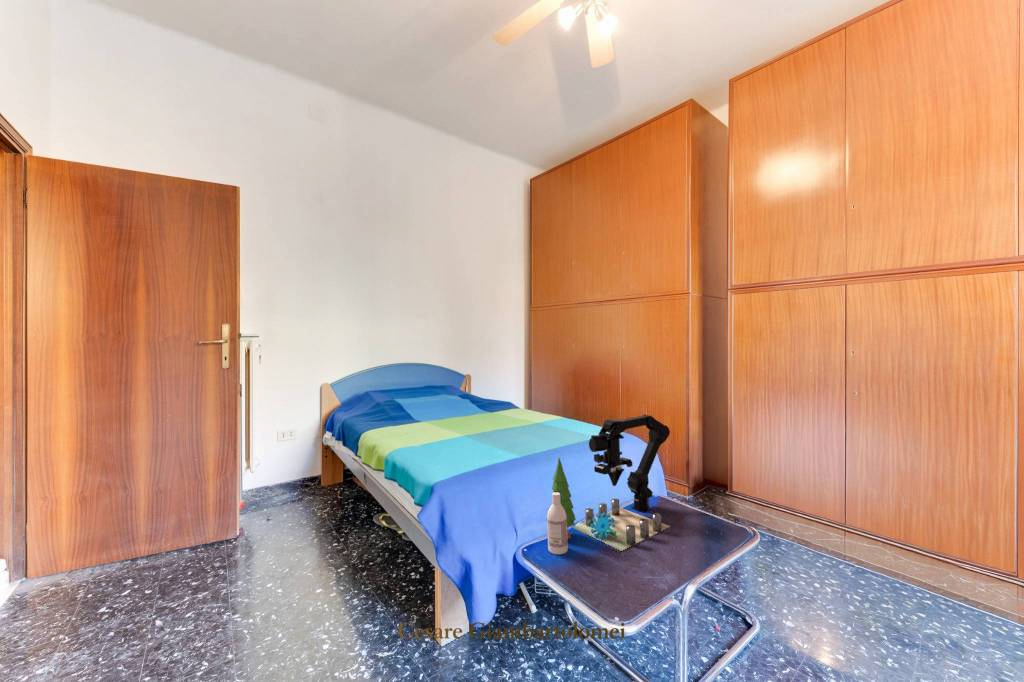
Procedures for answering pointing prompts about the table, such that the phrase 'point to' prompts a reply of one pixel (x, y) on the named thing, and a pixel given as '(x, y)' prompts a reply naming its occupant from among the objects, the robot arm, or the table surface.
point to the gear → (603, 526)
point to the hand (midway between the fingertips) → (614, 485)
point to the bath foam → (557, 526)
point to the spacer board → (621, 529)
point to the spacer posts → (629, 528)
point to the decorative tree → (564, 494)
